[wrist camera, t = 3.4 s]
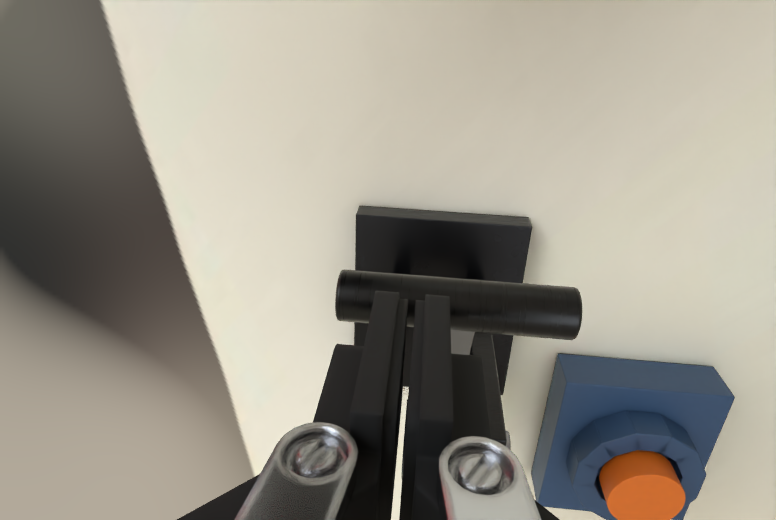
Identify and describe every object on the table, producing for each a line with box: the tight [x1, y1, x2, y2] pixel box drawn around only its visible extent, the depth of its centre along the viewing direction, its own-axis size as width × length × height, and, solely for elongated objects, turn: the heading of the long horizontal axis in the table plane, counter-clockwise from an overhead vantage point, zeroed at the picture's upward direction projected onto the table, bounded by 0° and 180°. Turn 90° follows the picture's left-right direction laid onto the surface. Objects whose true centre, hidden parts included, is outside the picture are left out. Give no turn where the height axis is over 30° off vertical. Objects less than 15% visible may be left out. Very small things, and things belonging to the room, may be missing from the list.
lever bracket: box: [354, 206, 532, 449], centre depth 26 cm, size 11×9×13 cm
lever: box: [335, 270, 582, 477], centre depth 18 cm, size 12×6×2 cm, turn 179°
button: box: [599, 450, 686, 520], centre depth 30 cm, size 4×4×2 cm
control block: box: [531, 354, 735, 520], centre depth 33 cm, size 10×9×4 cm
